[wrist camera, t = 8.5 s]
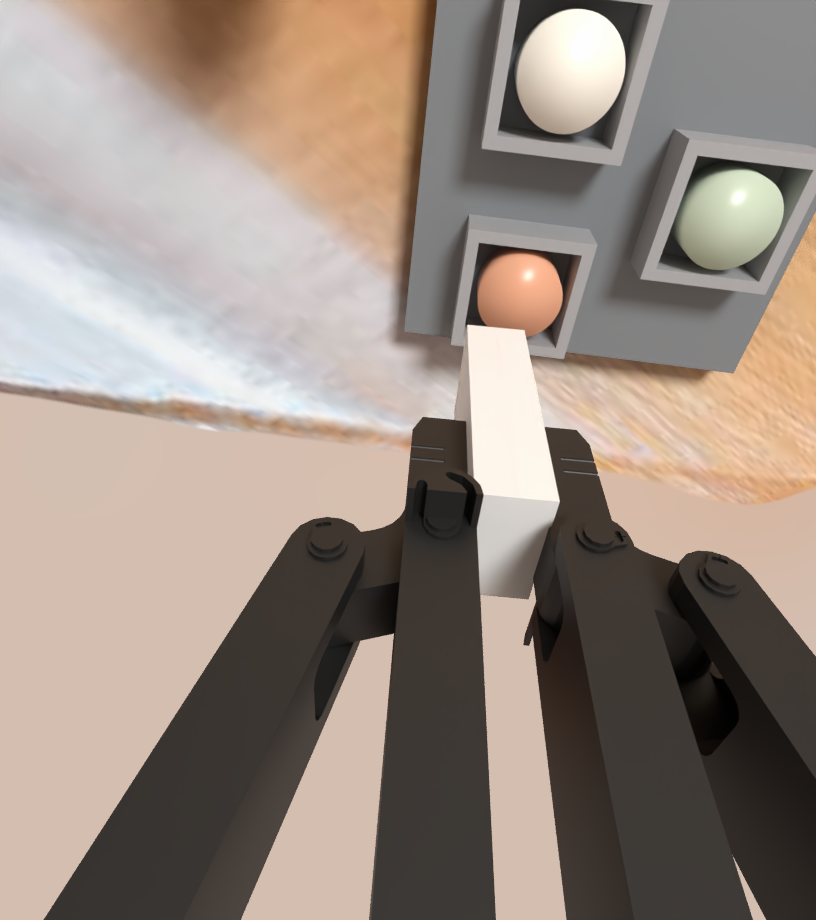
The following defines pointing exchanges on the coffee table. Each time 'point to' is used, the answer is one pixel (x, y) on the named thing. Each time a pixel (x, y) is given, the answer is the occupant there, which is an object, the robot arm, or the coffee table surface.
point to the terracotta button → (519, 290)
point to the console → (615, 174)
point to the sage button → (727, 215)
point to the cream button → (569, 70)
